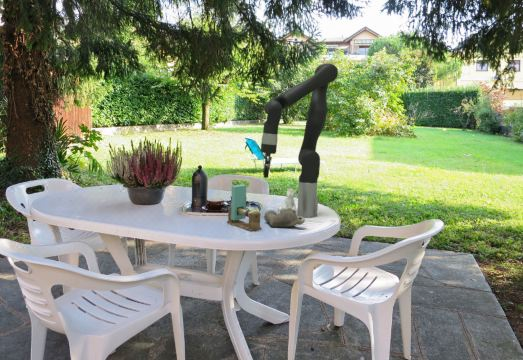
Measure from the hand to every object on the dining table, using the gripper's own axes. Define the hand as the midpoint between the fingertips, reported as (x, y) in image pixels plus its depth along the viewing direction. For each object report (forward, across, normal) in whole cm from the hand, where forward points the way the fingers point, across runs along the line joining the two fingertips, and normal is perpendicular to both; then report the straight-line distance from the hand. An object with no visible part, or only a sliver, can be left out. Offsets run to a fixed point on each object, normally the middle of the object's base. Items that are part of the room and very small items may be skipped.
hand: (265, 176), depth 224 cm
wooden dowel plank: (+21, -17, +8) cm, 28 cm away
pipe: (+20, -14, -11) cm, 27 cm away
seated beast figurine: (+19, +14, -15) cm, 28 cm away
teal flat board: (+19, -14, +11) cm, 26 cm away
